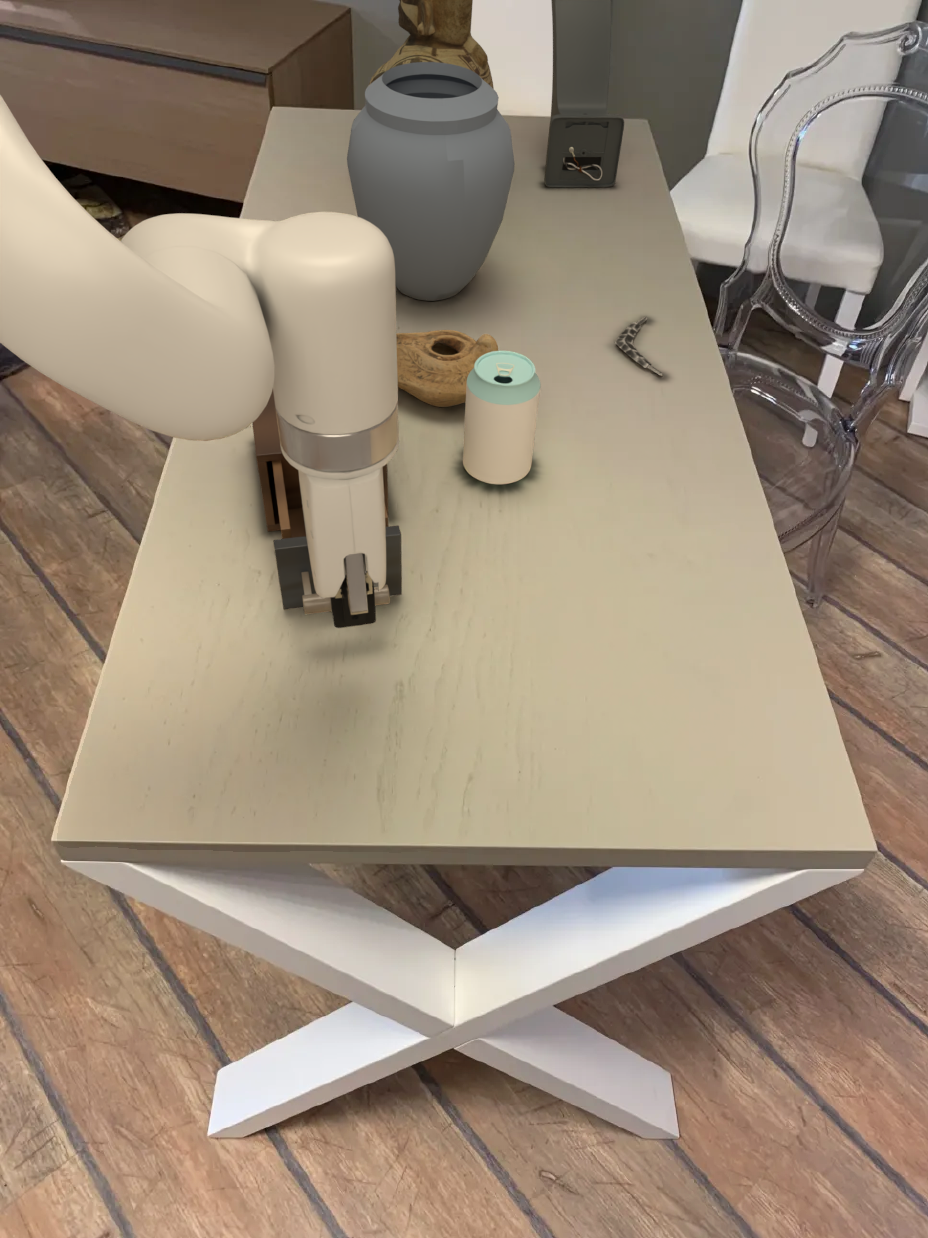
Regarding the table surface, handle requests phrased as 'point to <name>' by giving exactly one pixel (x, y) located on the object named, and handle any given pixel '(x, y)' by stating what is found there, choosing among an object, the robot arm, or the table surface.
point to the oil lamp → (439, 364)
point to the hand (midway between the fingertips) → (353, 618)
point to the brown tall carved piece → (438, 37)
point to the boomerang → (627, 346)
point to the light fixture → (582, 98)
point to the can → (500, 417)
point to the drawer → (296, 554)
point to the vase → (432, 172)
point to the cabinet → (271, 451)
